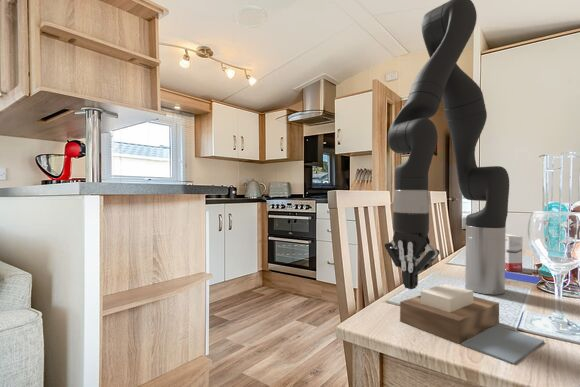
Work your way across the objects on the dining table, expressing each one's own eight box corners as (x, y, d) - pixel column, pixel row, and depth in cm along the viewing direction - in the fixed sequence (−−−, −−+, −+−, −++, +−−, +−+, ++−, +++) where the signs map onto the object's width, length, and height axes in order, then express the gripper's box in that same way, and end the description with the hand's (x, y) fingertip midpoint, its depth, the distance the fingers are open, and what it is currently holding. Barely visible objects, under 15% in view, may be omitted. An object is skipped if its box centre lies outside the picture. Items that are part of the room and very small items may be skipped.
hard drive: (487, 273, 103) (536, 282, 94) (495, 269, 108) (542, 277, 99) (487, 278, 103) (536, 287, 94) (495, 274, 108) (542, 282, 99)
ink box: (523, 271, 110) (523, 236, 110) (508, 271, 110) (508, 236, 110) (506, 265, 118) (507, 232, 118) (492, 265, 118) (493, 232, 118)
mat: (495, 326, 65) (495, 325, 65) (544, 342, 58) (544, 340, 58) (461, 344, 57) (461, 342, 57) (513, 364, 51) (513, 362, 51)
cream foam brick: (444, 295, 72) (444, 283, 72) (473, 303, 67) (473, 290, 67) (420, 303, 67) (420, 291, 66) (449, 312, 62) (449, 299, 62)
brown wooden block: (442, 305, 77) (442, 288, 77) (498, 322, 67) (499, 302, 67) (400, 321, 68) (400, 301, 67) (458, 343, 58) (458, 320, 58)
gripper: (448, 211, 70) (447, 292, 70) (396, 208, 81) (395, 279, 81) (428, 212, 66) (427, 299, 66) (376, 209, 77) (375, 283, 77)
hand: (410, 288), depth 74 cm, fingers closed
